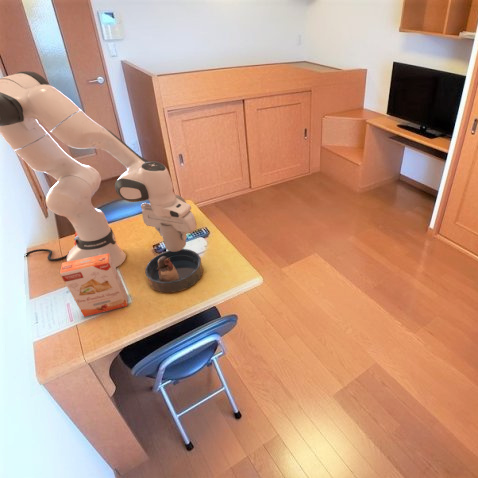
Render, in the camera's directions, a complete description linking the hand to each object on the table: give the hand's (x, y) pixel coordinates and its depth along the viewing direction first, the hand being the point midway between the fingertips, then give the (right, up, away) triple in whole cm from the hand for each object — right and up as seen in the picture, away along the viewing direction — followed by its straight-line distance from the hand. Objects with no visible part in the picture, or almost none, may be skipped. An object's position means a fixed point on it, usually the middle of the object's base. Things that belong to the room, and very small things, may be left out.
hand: (173, 237), depth 134 cm
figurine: (-2, -17, +3) cm, 18 cm away
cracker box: (-21, -25, -8) cm, 34 cm away
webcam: (-14, +7, +36) cm, 39 cm away
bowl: (-1, -15, +6) cm, 16 cm away
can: (0, -4, +3) cm, 5 cm away
